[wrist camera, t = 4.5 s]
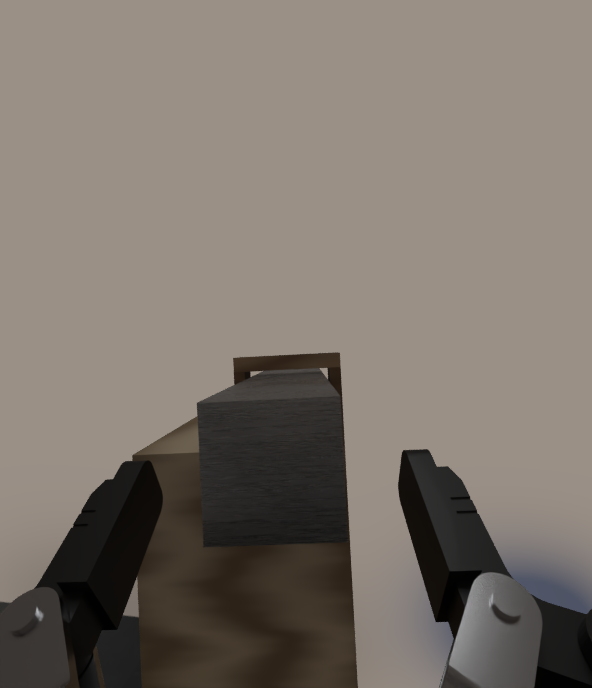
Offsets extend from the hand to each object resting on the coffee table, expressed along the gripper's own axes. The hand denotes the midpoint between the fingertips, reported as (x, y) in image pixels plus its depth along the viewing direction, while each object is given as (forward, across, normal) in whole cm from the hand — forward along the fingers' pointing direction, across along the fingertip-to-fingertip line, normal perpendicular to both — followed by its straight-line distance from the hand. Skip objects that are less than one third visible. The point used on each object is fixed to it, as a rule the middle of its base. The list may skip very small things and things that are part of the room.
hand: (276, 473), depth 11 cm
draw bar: (+7, 0, +6) cm, 9 cm away
